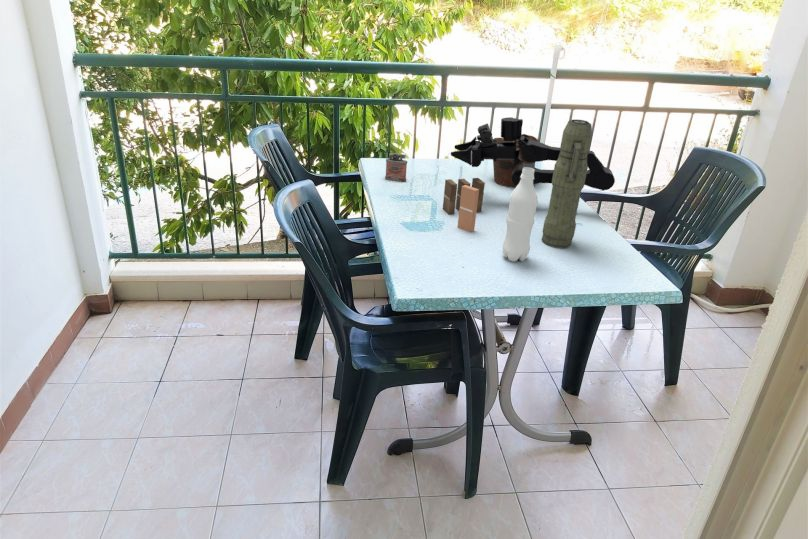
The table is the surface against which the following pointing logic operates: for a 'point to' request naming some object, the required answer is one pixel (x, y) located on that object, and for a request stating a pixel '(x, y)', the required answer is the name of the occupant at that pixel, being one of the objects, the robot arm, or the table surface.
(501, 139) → the case
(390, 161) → the lighter
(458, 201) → the tile
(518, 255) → the water bottle
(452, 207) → the tile
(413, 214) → the table surface
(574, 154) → the thermos
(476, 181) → the tile
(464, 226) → the end tile
